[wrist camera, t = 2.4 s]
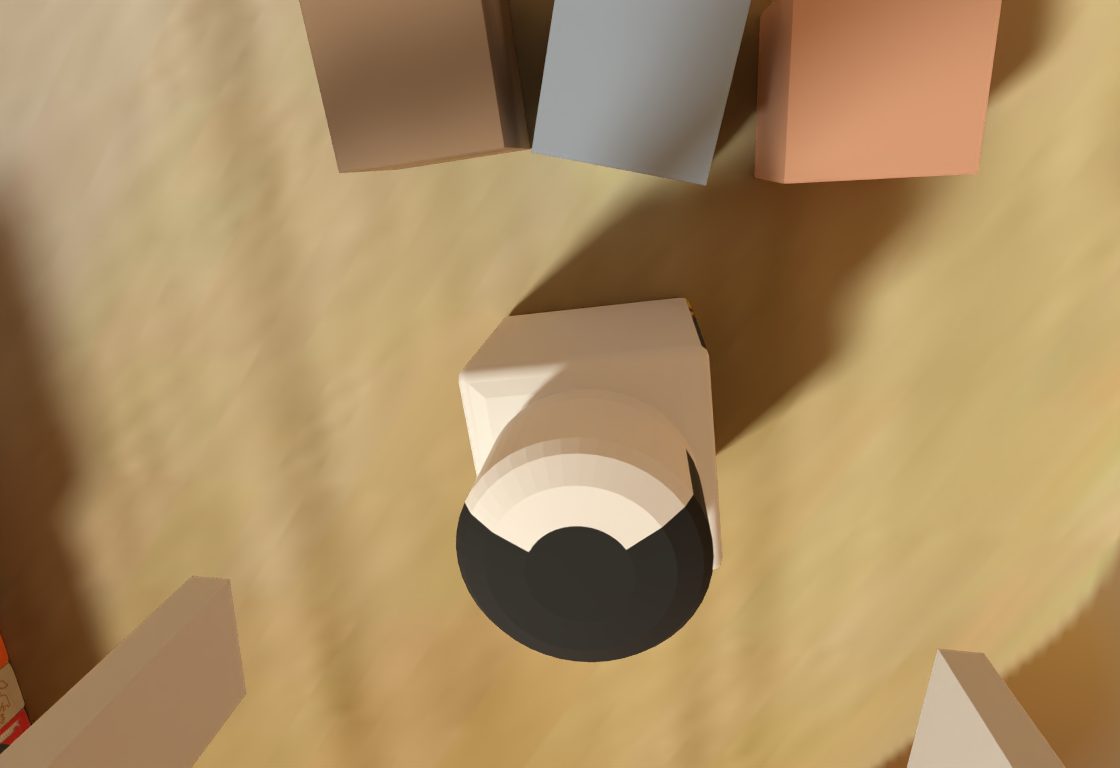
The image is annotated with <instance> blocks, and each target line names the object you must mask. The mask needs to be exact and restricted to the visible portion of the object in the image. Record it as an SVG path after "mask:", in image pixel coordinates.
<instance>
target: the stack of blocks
mask: <svg viewBox="0 0 1120 768" xmlns="http://www.w3.org/2000/svg"><path fill="white" fill-rule="evenodd" d="M8 659H9V658H8V654H7V651H6V648H5V645H4V642H3V640H2V637H1V634H0V743H1V744H9V745H11V744H12V743H13V742H14V741H15V740H16V739H17V738H18V737H20V736H21V735H22V734H23V733H24V732H25V731H26V730H27V729H28V728H29V727H30V726H31V725H30V722H29V719H28V717H27V714H26V711H25V709H23V707H24V705H25V703H24V700H23V697H22V694H21V691H20V688H19V685H18V682H17V679H16V676H15V674H14V671H13V669H12V666H11V664H10V663H9V662H8Z"/></svg>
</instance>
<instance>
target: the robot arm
mask: <svg viewBox="0 0 1120 768" xmlns="http://www.w3.org/2000/svg"><path fill="white" fill-rule="evenodd" d="M245 694H246V689H245V682H244V675H243V668H242V661H241V654H240V647H239V640H238V633H237V626H236V619H235V612H234V605H233V598H232V591H231V584H230V579H219V578H209V577H199V576H192V577H191V578H190V579H189V580H188V581H186V582H185V583H184V584H183V585H182V586H181V587H180V588H179V589H178V590H177V591H176V592H175V593H174V594H172V595H171V596H170V597H169V598H168V599H167V600H166V601H165V602H164V603H163V604H162V605H161V606H160V607H158V608H157V609H156V610H155V611H154V612H153V613H152V614H151V615H150V616H149V617H148V618H147V619H146V620H144V621H143V622H142V623H141V624H140V625H139V626H138V627H137V628H136V629H135V630H134V631H133V632H132V633H130V634H129V635H128V636H127V637H126V638H125V639H124V640H123V641H122V642H121V643H120V644H119V645H118V646H116V647H115V648H114V649H113V650H112V651H111V652H110V653H109V654H108V655H107V656H106V657H105V658H104V659H102V660H101V661H100V662H99V663H98V664H97V665H96V666H95V667H94V668H93V669H92V670H91V671H90V672H88V673H87V674H86V675H85V676H84V677H83V678H82V679H81V680H80V681H79V682H78V683H77V684H76V685H74V686H73V687H72V688H71V689H70V690H69V691H68V692H67V693H66V694H65V695H64V696H63V697H62V698H60V699H59V700H58V701H57V702H56V703H55V704H54V705H53V706H52V707H51V708H50V709H49V710H48V711H46V712H45V713H44V714H43V715H42V716H41V717H40V718H39V719H38V720H37V721H36V722H35V723H34V724H32V725H31V726H30V727H29V728H28V729H27V730H26V731H25V732H24V733H23V734H22V735H21V736H20V737H18V738H17V739H16V740H15V741H14V742H13V743H12V744H11V745H9V744H1V743H0V768H192V766H193V765H194V764H195V762H196V761H197V760H198V758H199V757H200V756H201V754H202V753H203V752H204V750H205V749H206V747H207V746H208V745H209V743H210V742H211V741H212V739H213V738H214V737H215V735H216V734H217V732H218V731H219V730H220V728H221V727H222V726H223V724H224V723H225V722H226V720H227V719H228V718H229V716H230V715H231V713H232V712H233V711H234V709H235V708H236V707H237V705H238V704H239V703H240V701H241V700H242V699H243V697H244V696H245ZM907 768H1065V766H1064V765H1063V763H1062V762H1061V761H1060V759H1059V758H1058V757H1057V755H1056V754H1055V752H1054V751H1053V750H1052V748H1051V747H1050V745H1049V744H1048V742H1047V741H1046V740H1045V738H1044V737H1043V735H1042V734H1041V733H1040V731H1039V730H1038V729H1037V727H1036V726H1035V724H1034V723H1033V721H1032V720H1031V719H1030V717H1029V716H1028V714H1027V713H1026V712H1025V710H1024V709H1023V707H1022V706H1021V705H1020V703H1019V702H1018V700H1017V699H1016V698H1015V696H1014V695H1013V693H1012V692H1011V691H1010V689H1009V688H1008V687H1007V685H1006V684H1005V682H1004V681H1003V679H1002V678H1001V677H1000V675H999V674H998V672H997V671H996V670H995V668H994V667H993V665H992V664H991V663H990V661H989V660H988V658H987V657H986V656H985V654H984V653H976V652H966V651H956V650H945V649H938V651H937V655H936V658H935V662H934V666H933V670H932V674H931V678H930V681H929V685H928V689H927V693H926V697H925V701H924V704H923V708H922V712H921V716H920V720H919V724H918V727H917V731H916V735H915V739H914V743H913V747H912V750H911V755H910V758H909V762H908V766H907Z"/></svg>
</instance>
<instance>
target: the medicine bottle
mask: <svg viewBox="0 0 1120 768" xmlns="http://www.w3.org/2000/svg"><path fill="white" fill-rule="evenodd" d="M459 385H460V391H461V396H462V401H463V406H464V412H465V417H466V422H467V427H468V433H469V438H470V443H471V448H472V454H473V459H474V464H475V469H476V475H477V479H476V481H475V483H474V485H473V487H472V489H471V491H470V493H469V495H468V497H467V499H466V501H465V503H464V506H463V509H462V512H461V514H460V517H459V522H458V527H457V535H456V550H457V558H458V564H459V567H460V571H461V574H462V578H463V580H464V582H465V584H466V586H467V589H468V591H469V593H470V594H471V596H472V597H473V599H474V601H475V602H476V604H477V605H478V606H479V608H480V609H481V610H482V611H483V612H484V614H485V615H486V616H487V617H488V618H489V619H490V620H491V621H492V622H493V623H494V624H495V625H497V626H498V627H499V628H500V629H501V630H502V631H504V632H505V633H506V634H508V635H509V636H510V637H512V638H513V639H515V640H516V641H518V642H520V643H521V644H523V645H525V646H527V647H529V648H531V649H533V650H536V651H538V652H540V653H543V654H546V655H549V656H553V657H556V658H559V659H565V660H571V661H581V662H601V661H611V660H616V659H622V658H625V657H629V656H632V655H635V654H638V653H641V652H643V651H646V650H648V649H650V648H652V647H654V646H657V645H658V644H660V643H662V642H663V641H665V640H666V639H668V638H670V637H671V636H672V635H674V634H675V633H676V632H677V631H678V630H680V629H681V628H682V627H683V626H684V625H685V624H686V623H687V622H688V620H689V619H690V618H691V617H692V616H693V615H694V613H695V612H696V610H697V609H698V607H699V606H700V604H701V603H702V601H703V598H704V596H705V594H706V592H707V590H708V587H709V583H710V579H711V576H712V571H713V570H714V569H717V568H718V567H719V566H720V565H721V561H722V542H721V527H720V512H719V497H718V482H717V467H716V452H715V437H714V422H713V407H712V392H711V376H710V361H709V354H708V352H707V349H706V346H705V343H704V341H703V338H702V335H701V332H700V329H699V327H698V324H697V321H696V318H695V316H694V313H693V310H692V307H691V304H690V302H689V301H688V300H687V299H686V298H672V299H663V300H654V301H644V302H635V303H626V304H617V305H608V306H598V307H589V308H580V309H571V310H562V311H552V312H543V313H534V314H525V315H516V316H508V317H506V318H504V319H503V321H502V322H501V323H500V324H499V325H498V327H497V328H496V329H495V330H494V332H493V333H492V334H491V335H490V337H489V338H488V339H487V340H486V341H485V343H484V344H483V345H482V346H481V348H480V349H479V350H478V351H477V353H476V354H475V355H474V356H473V357H472V359H471V360H470V361H469V362H468V364H467V365H466V366H465V367H464V368H463V370H462V371H461V372H460V374H459Z"/></svg>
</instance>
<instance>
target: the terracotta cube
mask: <svg viewBox="0 0 1120 768" xmlns="http://www.w3.org/2000/svg"><path fill="white" fill-rule="evenodd" d="M1001 3H1002V0H774V1H773V2H772V3H771V4H770V5H769V6H768V7H767V8H766V9H765V11H764V12H763V13H762V14H761V15H760V37H759V64H758V92H757V119H756V146H755V174H754V178H758V179H763V180H768V181H773V182H778V183H783V184H789V183H808V182H828V181H847V180H866V179H886V178H905V177H924V176H944V175H963V174H978V168H979V161H980V154H981V147H982V139H983V132H984V125H985V118H986V111H987V104H988V97H989V89H990V82H991V75H992V68H993V61H994V54H995V46H996V39H997V32H998V25H999V18H1000V11H1001Z"/></svg>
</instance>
